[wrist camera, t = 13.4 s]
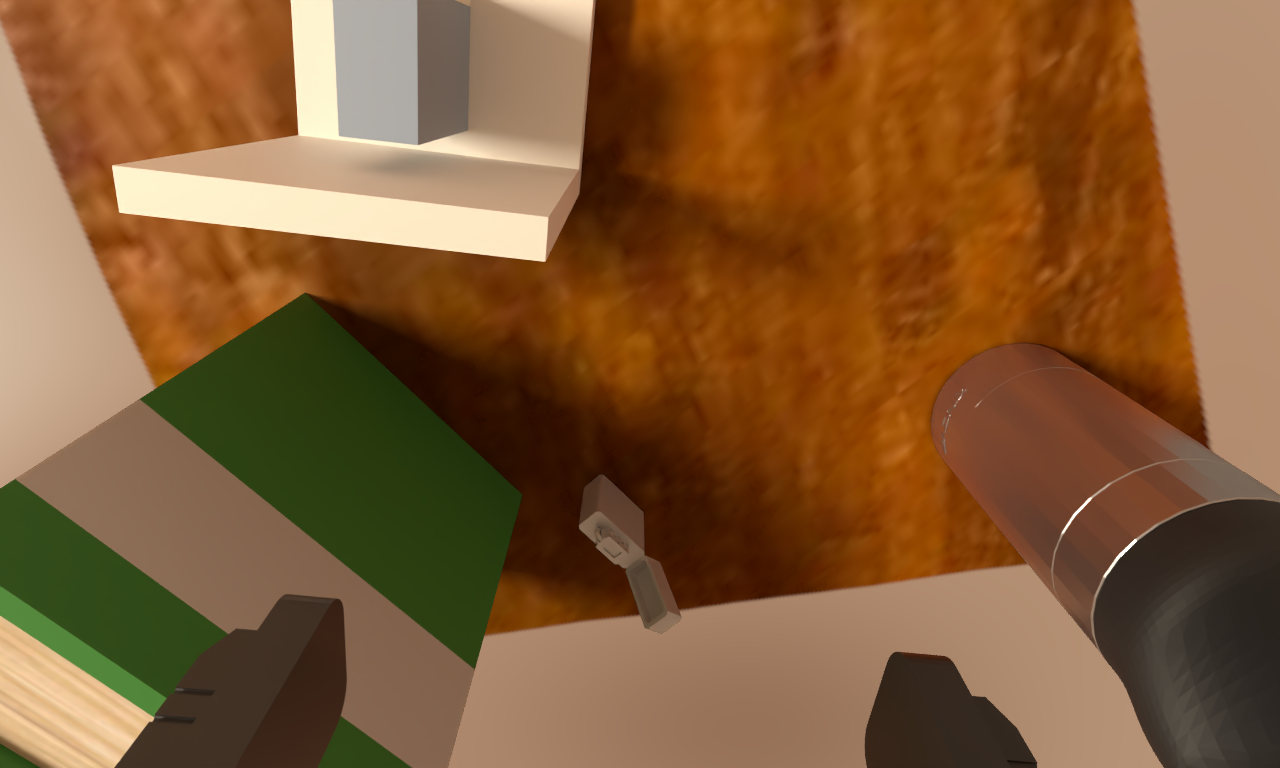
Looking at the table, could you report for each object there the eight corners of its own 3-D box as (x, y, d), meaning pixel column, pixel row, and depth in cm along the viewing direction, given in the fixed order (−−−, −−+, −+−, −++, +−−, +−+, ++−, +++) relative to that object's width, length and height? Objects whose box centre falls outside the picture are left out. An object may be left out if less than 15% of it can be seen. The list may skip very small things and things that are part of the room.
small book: (471, -7, 34) (418, -36, 26) (469, 130, 36) (419, 145, 28) (404, -16, 34) (328, -47, 25) (406, 123, 36) (337, 136, 28)
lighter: (582, 489, 47) (571, 566, 39) (601, 472, 46) (595, 548, 39) (656, 557, 49) (659, 642, 41) (675, 542, 48) (682, 626, 41)
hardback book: (225, 371, 43) (-205, 677, 21) (305, 292, 42) (-74, 536, 19) (442, 557, 49) (280, 959, 26) (522, 494, 47) (420, 869, 25)
